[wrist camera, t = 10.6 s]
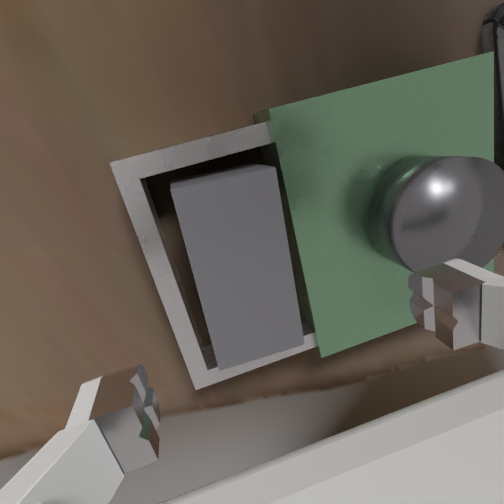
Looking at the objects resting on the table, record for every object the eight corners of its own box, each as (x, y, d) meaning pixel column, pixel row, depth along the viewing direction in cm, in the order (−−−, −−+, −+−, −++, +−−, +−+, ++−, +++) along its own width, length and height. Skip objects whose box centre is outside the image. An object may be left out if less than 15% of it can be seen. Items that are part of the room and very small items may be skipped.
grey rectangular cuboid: (170, 180, 18) (170, 190, 14) (250, 162, 19) (275, 167, 14) (208, 322, 21) (219, 371, 17) (276, 303, 22) (304, 344, 17)
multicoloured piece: (114, 151, 17) (85, 152, 12) (448, 65, 20) (557, 32, 14) (195, 370, 22) (203, 446, 16) (457, 277, 24) (541, 316, 19)
